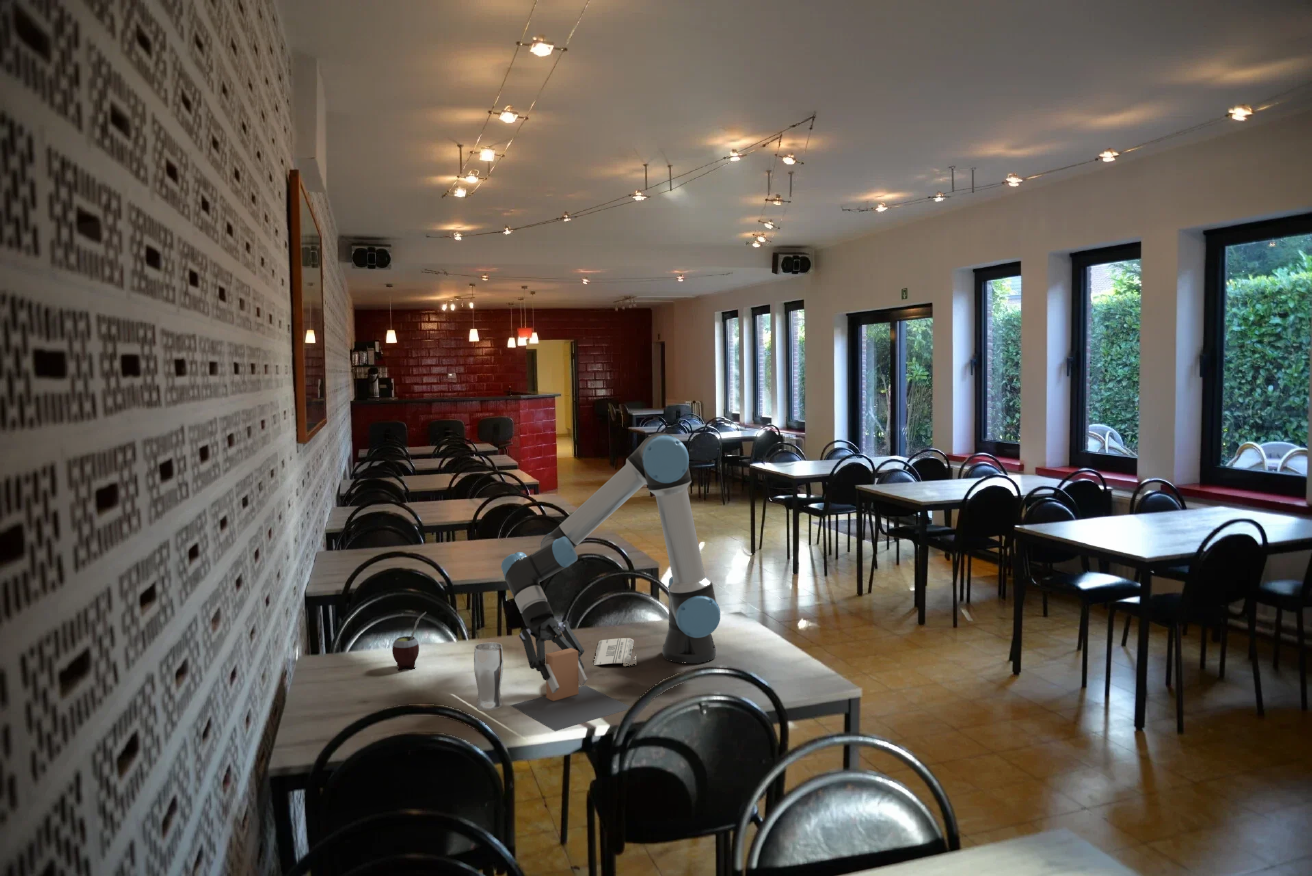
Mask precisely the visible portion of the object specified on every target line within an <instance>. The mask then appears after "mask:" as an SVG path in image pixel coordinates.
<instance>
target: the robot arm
mask: <svg viewBox="0 0 1312 876" xmlns="http://www.w3.org/2000/svg"><path fill="white" fill-rule="evenodd" d="M689 456H690V455H689V452H688V450H687V447H686V446H685V445H684V443H683V442H682V441H681V440H680V439H678V438H677V437H675V436H673V435H672V434H669V433H666V432H656V433H652V434H650V435H648V437H647V438H645V439H644V440H643V441H642V442H641V443H640V445H639V446H638V447H637V448H636V449H635V450H634V451H633V452H632V453H631V454H630V455H629V456H628V457H627V458H626V460H625V464H624V466H622V468H621V469H619V470H618V471H617V472H616V473H615V474H614V475H613V476H611V478H609V479H608V480H607V481H606V482H605V483H604V484H603V485H602V486H601V487H600V488H598V489H597V491H595V492H593V494H592V495H590V497H588V499H586V500H585V501H584V502H583V503H582V504H581V505H580V506H579V507H577V509H576V510H575V511H573V513H571V514H570V515H569V516H567V517H566V519H564V520H563V521H562V522H561V523H559V525H558V526H557V527H556V528H555V529H554V530H553V531H551V532H549V533H547V534H546V535H544V537H543V539H542V540H541V541H540V549H538V550H537V551H535V552H533V553H531V554H529V555H527V554H526V553H525V552H522V551H519V552H518V551H517V552H515V553H511V554H509V555H507V556H506V557H505V558H504V559H503V560H502V561H501V564H500V568H501V572H502V574H503V576H504V580H505V582H506V585H507V586H508V589H509V590H510V592H511V594H512V595H511V596H513V599H514V602H515V603H516V607H517V608H518V610H519V613H520V614H521V617H522V620H523V622H524V625H525V626H526V628H524V629H522V630H521V631H520V633H519V635H518V637H519V639H520V640H521V642H522V643H523V647H524V651H525V654H526V657H527V662H528V665H529V668H530V669H531V670H534V669H536V671H537V672H539V673H540V674H541V675H540V676H541V677H542V679H543V680H544V681H546V680H547V682H548V684H549V686H550V689H551V691H552V693H555V692H556V691H557V690H558V688H559V685H558V683H557V680H556V678H555V676H554V674H553V672H552V669H551V667H550V665H549V664H546V647H545V645H546V644H545V642H546V641H551V642H552V643H553V644H556V645H557V647H558V648H560V649H561V650H565V649H569V648H573V649H575V650H577V651H578V684H579V685H580V686H584V685H585V683H587V681H588V677H587V676H586V673H585V671H584V669H585V666H584V664H583V661H582V659H581V657H582V656H583V654H584V653H585V649H584V647H583V646H582V644H581V643H580V641H579V640H578V639H577V637H576V635H575V633H574V632H573V630H572V629H571V627H570V623H569V621H568V620H566V619H565V620H563V621H562V622H561V621H560V622H559V621H558V620H557V619H556V618H555V616H554V612H553V610H552V609H553V608H552V607H551V605H550V603H549V602H548V598H547V596H546V595H545V591H544V590H543V588H542V586H541V584H540V582H542V581H544V580H546V579H547V578H549V577H552V576H554V575H555V574H557V573H558V572H560V571H562V570H565V569H566V568H569V567H570V566H571V565H573V564H575V562H577V561H578V558H579V557H578V553H577V551H576V549H575V548H576V547H578V546H579V545H580V544H581V543H582V542H583V541H584V540H585V539H586V538H587V537H588V536H590V534H592V533H593V532H594V531H595V530H596V529H597V528H599V526H600V525H601V524H602V523H604V522H605V521H606V520H607V519H608V518H609V517H611V515H612V514H614V513H615V512H616V511H617V510H618V509H619V508H620V507H621V506H622V505H624V504H625V503H626V502H627V501H628V500H629V499H630V498H631V497H632V496H633V495H634V494H636V493H637V492H638V491H639V490H641V488H642V487H643V486H647V489H648V491H649V492H651V494H653V495H654V496H655V500H656V503H657V504H656V506H657V508H658V509H657V510H658V515H659V518H660V519H659V520H660V525H661V528H662V533H663V539H664V543H665V547H666V552H667V557H668V558H667V559H668V562H669V566H670V568H669V569H670V572H671V576H670V577H669V579H668V585H667V588H668V628H667V629H668V631H667V633H666V636H665V640H664V644H663V646H662V650H661V651H662V653H661V655H662V654H663V656H664V657H663V656H662V657H663V659H665V658H666V659H668V660H667V661H669V660H672V661H674V662H673V663H676V662H680V663H679V664H683V663H684V662H686V663H697V664H701V663H700V662H704V663H707V662H706V661H708V660H711V661H712V659H713V658H714V659H716V657H715V656H717V655H716V654H717V653H716V651H717V648H716V646H715V642H714V638H713V635H712V633H714V632H715V631H716V629H717V628H718V626H719V624H720V621H721V608H720V606H719V604H718V603H717V599H716V595H715V589H714V586H713V585H714V584H713V581H712V579H711V578H710V577H709V576H707V575H706V574H705V570H704V569H705V568H704V564H703V559H702V554H701V551H700V546H699V544H700V543H699V540H698V535H697V531H696V526H695V521H694V520H695V519H694V516H693V510H692V507H691V502H690V495H689V492H688V488H689V486H690V485H691V483H692V476H691V473H690V468H689V467H690V466H689V465H690V464H689V463H690V461H689V460H690V457H689ZM532 637H534V638H535V641H534V642H535V647H536V651H535V647H534V643H533V640H532ZM666 659H665V660H666ZM714 659H713V660H714ZM682 662H683V663H682ZM708 662H709V661H708Z"/></svg>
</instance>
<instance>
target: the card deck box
mask: <svg viewBox="0 0 1312 876" xmlns="http://www.w3.org/2000/svg"><path fill="white" fill-rule="evenodd" d="M546 664H549V665H550V667H551V669H552V672H553V674H554V676H555V678H556V680H557V683H558V685H559V688H558V690H557V691H556V692H555V693H552V691H551V689H550V686H549V684H548V682H547V680H545V684H546V690H545V691H546V694H545V696H546V698H548V699H550V700H552V701H555V700H559V699H562V698H566V697H570V696H573V695H577V694H579V687H580V686H579V681H578V651H577V650H575V649H573V648H569V649H565V650H562V649H561V650H557V651H556V650H555V651H553V652H548V653H545V665H546Z"/></svg>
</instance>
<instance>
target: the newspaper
mask: <svg viewBox="0 0 1312 876" xmlns="http://www.w3.org/2000/svg"><path fill="white" fill-rule="evenodd" d="M634 643H635V641H634V639H632V638H631V637H625V638H624V637H622V638H621V637H620V638H610V639H601V640H599V641H598V644H597V646H596V650H595V653H596V656H595V655H594V657H595V659H594V658H593V660H595V661H594V665H593V664H592V665H593V666H600V665H610V664H622V663H626V664H628V665H629V664H630V661H631V655H632V649H633V646H634ZM634 658H635V659H633V660H636V661H635V662H636V663H635V665H634V666H637V655H636V656H635V657H634ZM633 662H634V661H633ZM633 664H634V663H633ZM629 667H631V666H630V665H629Z"/></svg>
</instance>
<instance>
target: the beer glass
mask: <svg viewBox="0 0 1312 876" xmlns="http://www.w3.org/2000/svg"><path fill="white" fill-rule="evenodd" d="M473 671H474V678H475V681H476V687H477V688H476V689H477V701H476V710H478V711H479V712H482V711H496V710H499V709H500V708H501V707H502V706H503V703H502V702H503V701H502V697H501V687H502V681H503V675H504V674H503V673H504V652H503V645H502V643H500V642H496V641H495V642H493V641H491V642H490V641H489V642H482V643H478V644H476V645H474V652H473Z"/></svg>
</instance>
